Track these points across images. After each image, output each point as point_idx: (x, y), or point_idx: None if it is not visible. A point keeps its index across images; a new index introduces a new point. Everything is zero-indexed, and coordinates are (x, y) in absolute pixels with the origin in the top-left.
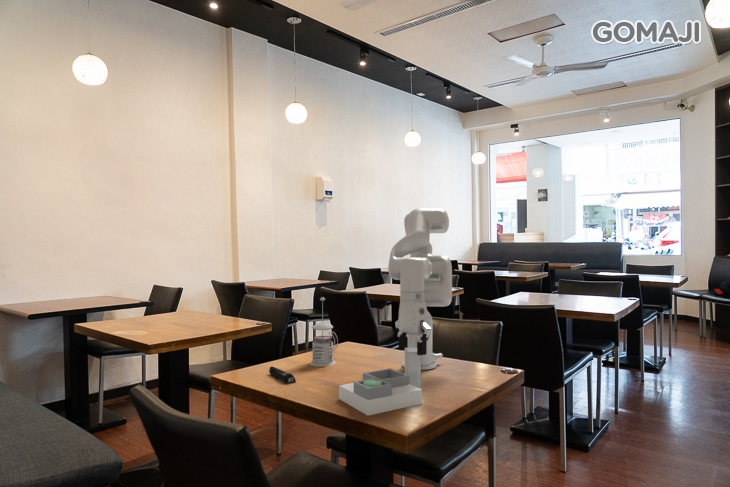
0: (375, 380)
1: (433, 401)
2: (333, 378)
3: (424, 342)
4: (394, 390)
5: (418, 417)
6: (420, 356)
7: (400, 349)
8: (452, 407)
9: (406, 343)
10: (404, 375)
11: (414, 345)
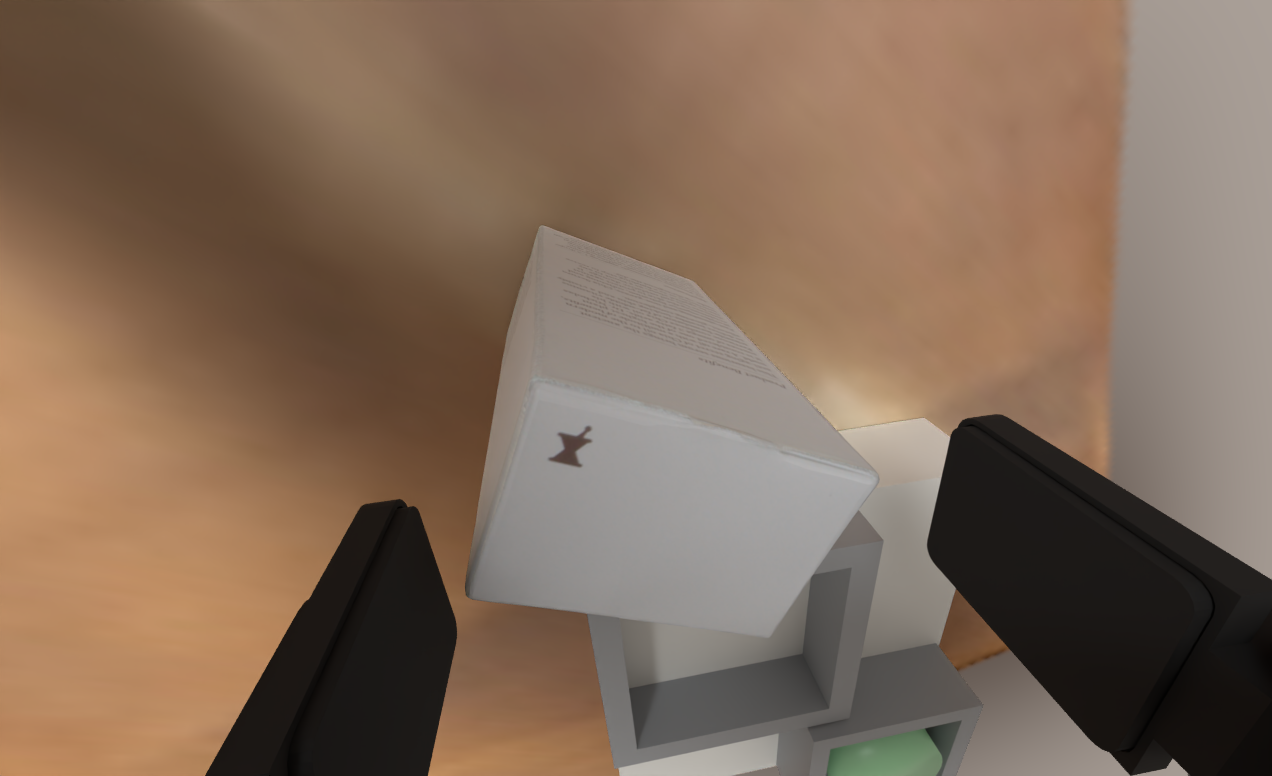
0: (873, 763)
1: (939, 334)
2: (172, 700)
3: (1267, 652)
4: (882, 611)
5: None
6: (831, 425)
7: (453, 629)
8: (1092, 286)
9: (388, 617)
10: (845, 566)
11: None
